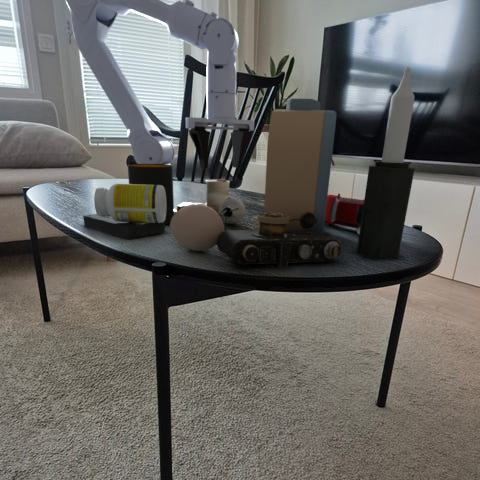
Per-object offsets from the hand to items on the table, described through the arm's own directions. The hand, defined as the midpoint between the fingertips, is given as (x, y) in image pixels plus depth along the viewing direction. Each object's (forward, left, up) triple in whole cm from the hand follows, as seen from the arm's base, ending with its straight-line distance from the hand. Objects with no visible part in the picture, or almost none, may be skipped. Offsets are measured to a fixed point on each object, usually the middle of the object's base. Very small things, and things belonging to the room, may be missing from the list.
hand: (220, 167), depth 88 cm
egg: (+28, -19, -6) cm, 34 cm away
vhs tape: (+4, -23, -10) cm, 26 cm away
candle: (+39, +3, -10) cm, 41 cm away
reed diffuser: (+13, -9, -10) cm, 19 cm away
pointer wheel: (+2, -2, -7) cm, 8 cm away
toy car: (+23, +17, -7) cm, 29 cm away
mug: (-2, -14, -10) cm, 18 cm away
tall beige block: (+22, +2, -10) cm, 25 cm away
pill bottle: (+11, -19, -5) cm, 23 cm away
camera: (+30, -11, -7) cm, 33 cm away
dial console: (+1, -3, -10) cm, 10 cm away
